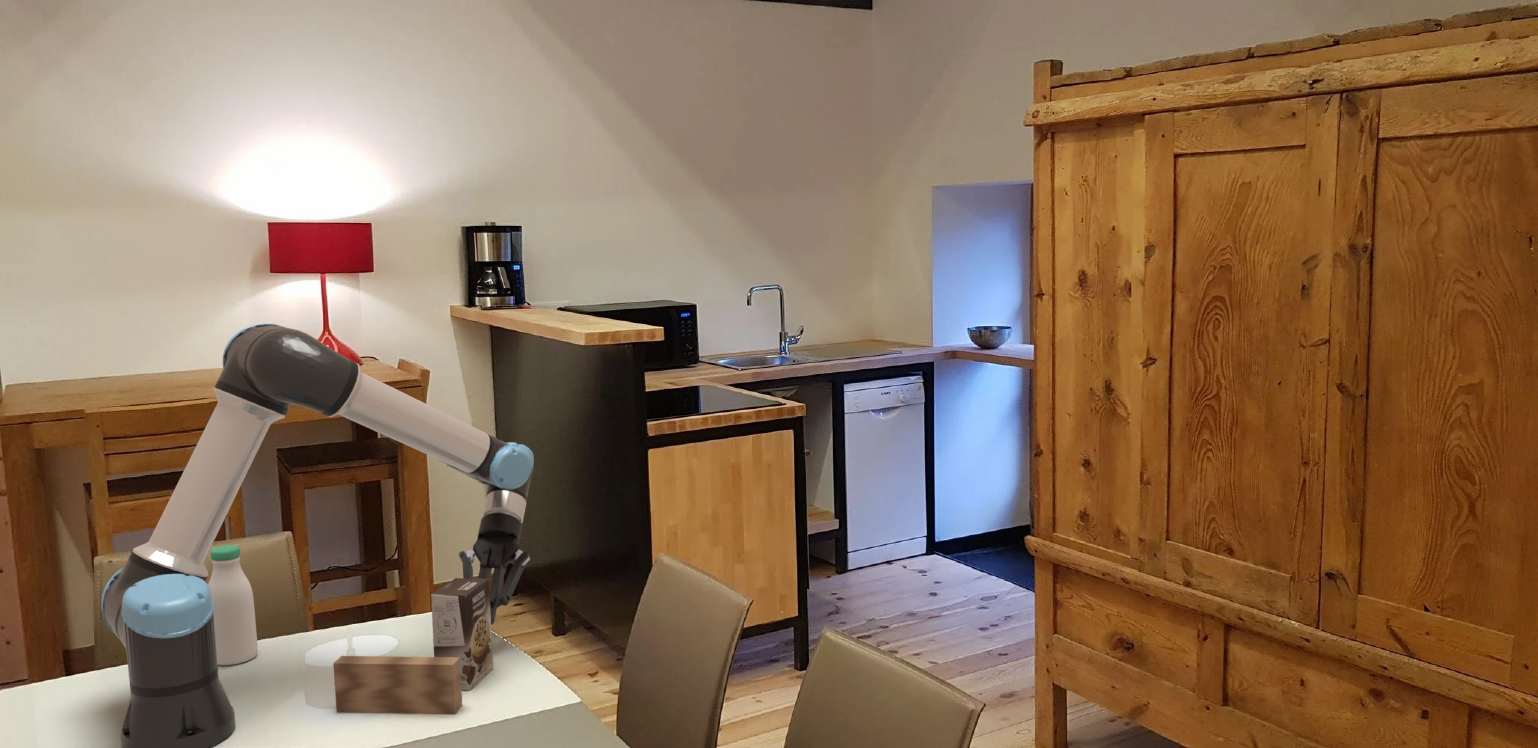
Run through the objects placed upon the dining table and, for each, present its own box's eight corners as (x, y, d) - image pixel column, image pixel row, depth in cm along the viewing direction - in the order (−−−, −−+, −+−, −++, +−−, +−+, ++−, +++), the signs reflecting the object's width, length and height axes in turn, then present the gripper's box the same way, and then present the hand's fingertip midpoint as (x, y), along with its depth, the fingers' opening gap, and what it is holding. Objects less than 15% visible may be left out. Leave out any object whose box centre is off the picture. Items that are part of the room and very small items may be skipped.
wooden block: (336, 712, 177) (333, 663, 176) (344, 704, 180) (341, 656, 179) (455, 714, 176) (453, 665, 175) (462, 705, 179) (459, 657, 178)
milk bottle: (267, 655, 201) (258, 545, 198) (226, 670, 195) (217, 557, 192) (241, 646, 205) (232, 539, 202) (200, 661, 199) (190, 550, 196)
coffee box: (470, 691, 185) (465, 595, 182) (434, 688, 186) (428, 593, 184) (495, 669, 193) (490, 578, 191) (460, 666, 195) (455, 576, 192)
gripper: (541, 531, 213) (520, 650, 198) (472, 530, 213) (447, 649, 199) (532, 510, 207) (510, 632, 192) (462, 510, 207) (435, 631, 193)
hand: (478, 640), depth 196 cm, fingers closed
